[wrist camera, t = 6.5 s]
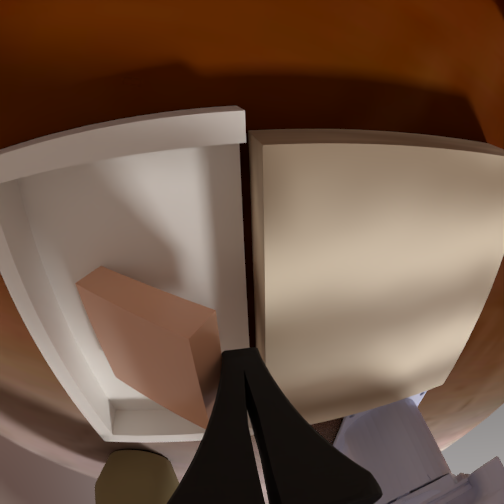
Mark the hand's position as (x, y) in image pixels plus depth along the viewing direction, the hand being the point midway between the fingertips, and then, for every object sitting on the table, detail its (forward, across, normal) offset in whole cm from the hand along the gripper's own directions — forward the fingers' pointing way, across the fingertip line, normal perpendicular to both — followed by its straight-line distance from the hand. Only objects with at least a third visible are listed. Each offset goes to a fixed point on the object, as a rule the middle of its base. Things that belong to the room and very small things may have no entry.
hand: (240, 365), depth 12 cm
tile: (+2, +3, 0) cm, 3 cm away
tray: (+4, +4, 0) cm, 6 cm away
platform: (+4, -8, 0) cm, 9 cm away
